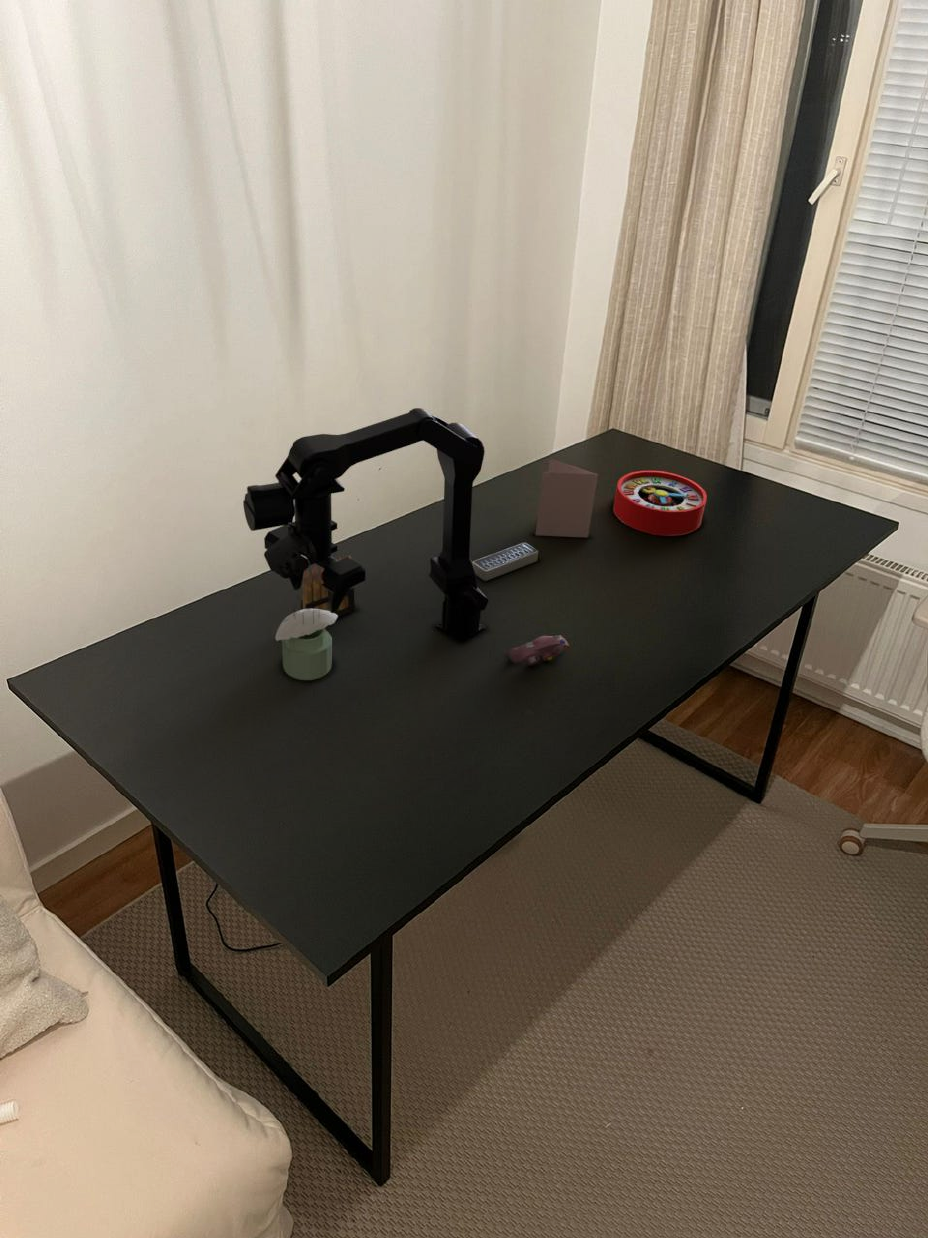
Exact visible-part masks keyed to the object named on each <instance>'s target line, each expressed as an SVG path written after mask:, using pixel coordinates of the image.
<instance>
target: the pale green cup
mask: <svg viewBox="0 0 928 1238" xmlns="http://www.w3.org/2000/svg"><path fill="white" fill-rule="evenodd" d="M332 645H333V637H332V636H331V634H330V633H329V631H327V629H326V627H325V628H323V629H320V630H317V631H316V632H314V633H311V634H309V635H307V634H306V635H304V637H303V636H302V637H301V636H300V637H299V638H292V637H291V638H290V639H288V640H287V639H286V640H284V638H283V640H281V652H282V667H283V670H284V673H285V674H287V675H288V677H290V678H293V679H296V680H300V681H313V680H316V679H317V680H318V679H320V678H323V677H324V676H326V675H328V673H329V672H330V671H331V670H332V666H333V665H332V663H333V652H332V651H333V646H332Z"/></svg>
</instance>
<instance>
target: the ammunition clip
mask: <svg viewBox="0 0 928 1238" xmlns="http://www.w3.org/2000/svg"><path fill="white" fill-rule="evenodd" d="M346 557H348V558H350V559H352V557H351V555H350V553H348V554H347V555H346ZM341 559H343V558H342V557H341V556H339V557H338V559H337V560H338V561H339V560H341ZM319 571H320V572H319ZM319 571H318V567H317V564H316V565H313V568H312V571H311V575H310V571H309V569H308V568H307V569H306V570H305V571H304V573H303V579H302V590H301V591H302V592H301V594H302V599H301V600H300V610H303V609H321V610H326V611H330V608H329V598H328V589H326V588H325V587H323V586H322V585H321V584H323V583H324V582H323V580H322V572H323V571H324V568H322V567H321V566H320V570H319ZM308 597H309V600H308ZM355 599H356V597H355V586H353V587H351V588H350V589H349V590H348V592H347V594H346V596H345V597H344V599H343V601H342V603H341V605H340V606H339V608H338V610H337V611H336V612H335V614H336V615H338V617H337V618H339V617H341V616H344V615H346V614H349V613H352V612H355V611H356V602H355V601H356V600H355Z"/></svg>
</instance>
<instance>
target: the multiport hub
mask: <svg viewBox="0 0 928 1238" xmlns="http://www.w3.org/2000/svg"><path fill="white" fill-rule="evenodd" d="M538 557H539V550H538V549H537V548H535V547H533V546H532V545H530V544H529V543H527V542H521V543H519V544H516V545H514V546H510V547H508V548H506V549H505V548H504V549H502V550H500V551H497V552H495V553H492V554H489V555H487V556H484V557H481V558H478V559H476V560H473V561H472V564H473V567H474V570H475V573H476V577H477V578H479V579H481V580H483V581H485V582H486V581H489V580H492V579H494V578H497V577H500V576H502V575H505V574H507V573H510V572H513V571H515V570H518V569H521V568H523V567H525V566H528V565H530V564H533V563H536V562H537V561H538Z"/></svg>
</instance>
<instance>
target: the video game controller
mask: <svg viewBox="0 0 928 1238" xmlns="http://www.w3.org/2000/svg"><path fill="white" fill-rule="evenodd" d="M569 648H570V645H569V643H568V641H567V639H565V638H564V637H563V635H562V634H558V635H541V636H539V637H537V638H536V639H534V640H532V641H529V642H526V643H524V644H522V645H520V646H518V647H512V648H511V649H510V650H509V651H508V657H509V660H510V661H511V662H513V663H515V664H521V663H523V664H527V665H528V666H533V665H535V664H537V663H538V662H540V659H541V658H542V660H543V662H548V661H551V660H553V659H554V658H555V657H557V656H559V655H561V654H563V653H565V652H566V651H568V650H569ZM540 656H541V658H540Z"/></svg>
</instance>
